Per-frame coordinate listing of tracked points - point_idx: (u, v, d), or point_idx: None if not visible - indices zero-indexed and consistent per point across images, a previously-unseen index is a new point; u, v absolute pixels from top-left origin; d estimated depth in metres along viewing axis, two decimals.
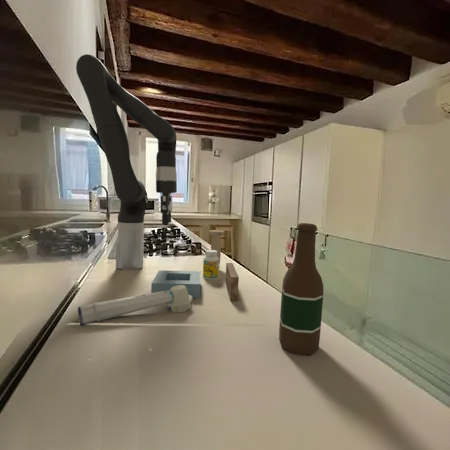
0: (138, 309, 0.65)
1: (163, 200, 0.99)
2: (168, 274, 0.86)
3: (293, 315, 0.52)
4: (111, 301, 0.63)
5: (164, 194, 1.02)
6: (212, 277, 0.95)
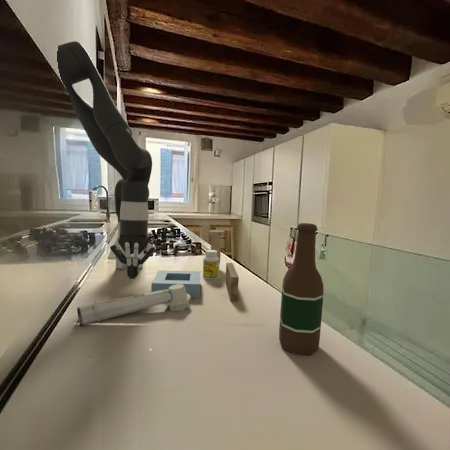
0: (137, 309, 0.65)
1: None
2: (168, 274, 0.86)
3: (293, 315, 0.52)
4: (110, 301, 0.63)
5: (147, 237, 0.80)
6: (212, 277, 0.95)
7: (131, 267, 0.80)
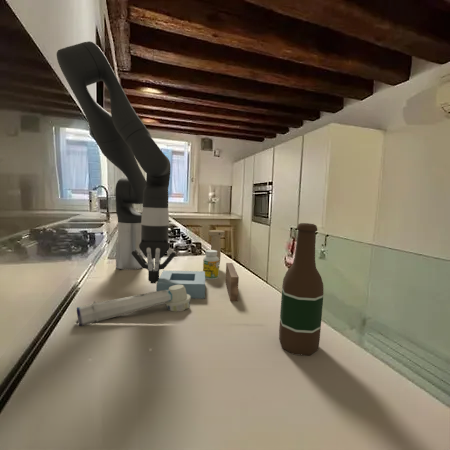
0: (137, 309, 0.65)
1: None
2: (172, 274, 0.86)
3: (293, 315, 0.52)
4: (110, 301, 0.63)
5: (167, 242, 0.81)
6: (212, 277, 0.95)
7: (152, 272, 0.81)
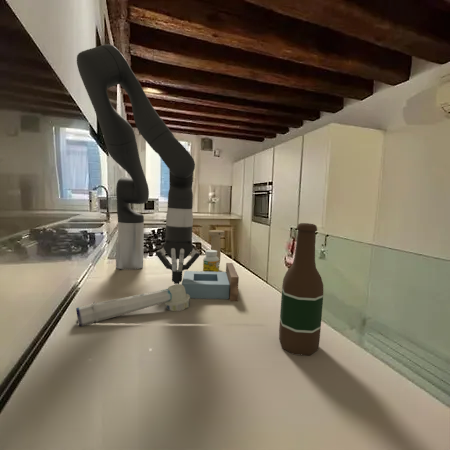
0: (137, 309, 0.65)
1: None
2: (195, 275, 0.87)
3: (293, 315, 0.52)
4: (109, 301, 0.63)
5: (191, 243, 0.81)
6: None
7: (176, 272, 0.81)
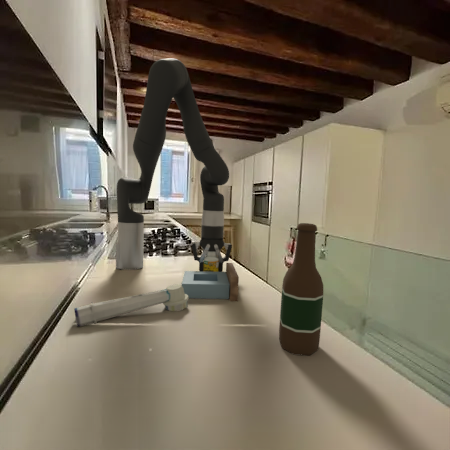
0: (135, 309, 0.64)
1: None
2: (195, 275, 0.87)
3: (293, 315, 0.52)
4: (108, 302, 0.62)
5: None
6: None
7: (202, 263, 0.96)
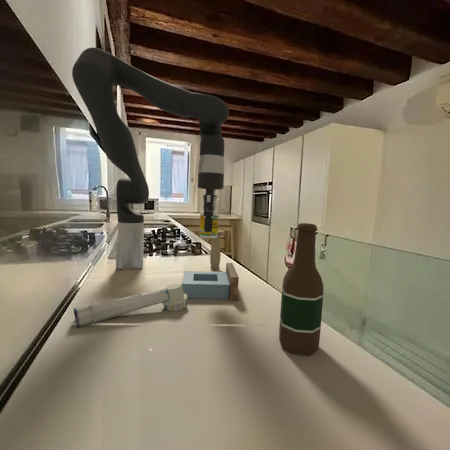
0: (134, 309, 0.64)
1: None
2: (195, 275, 0.87)
3: (293, 315, 0.52)
4: (107, 302, 0.62)
5: None
6: None
7: (212, 219, 0.80)
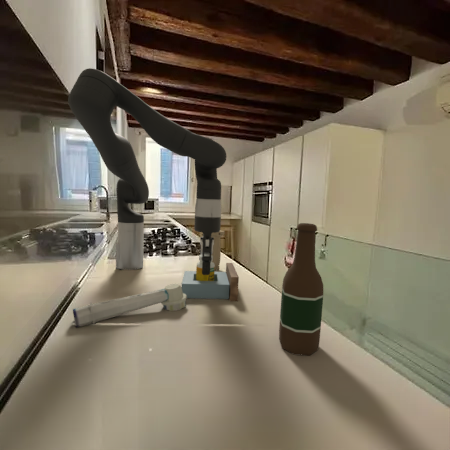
0: (134, 309, 0.64)
1: None
2: (194, 275, 0.87)
3: (293, 315, 0.52)
4: (106, 302, 0.62)
5: None
6: None
7: None
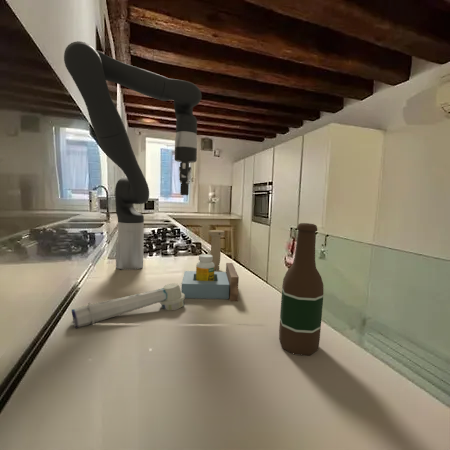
0: (133, 309, 0.65)
1: None
2: (194, 275, 0.87)
3: (293, 315, 0.52)
4: (105, 302, 0.62)
5: None
6: None
7: (187, 185, 0.94)
